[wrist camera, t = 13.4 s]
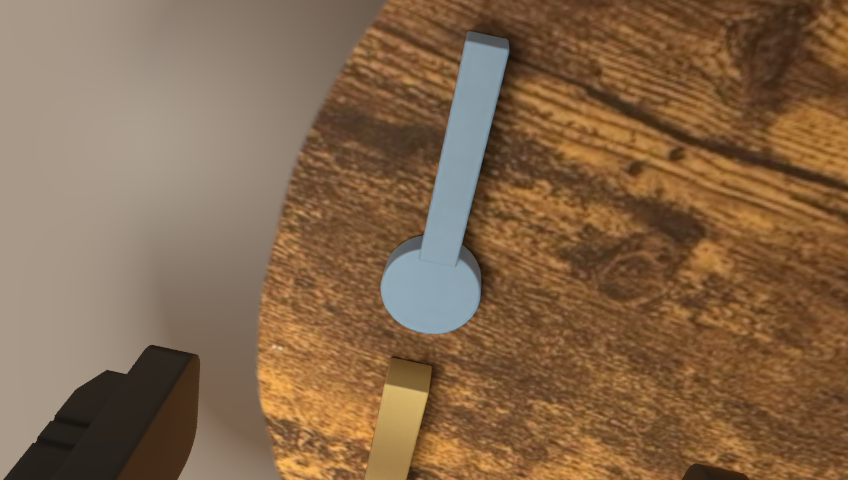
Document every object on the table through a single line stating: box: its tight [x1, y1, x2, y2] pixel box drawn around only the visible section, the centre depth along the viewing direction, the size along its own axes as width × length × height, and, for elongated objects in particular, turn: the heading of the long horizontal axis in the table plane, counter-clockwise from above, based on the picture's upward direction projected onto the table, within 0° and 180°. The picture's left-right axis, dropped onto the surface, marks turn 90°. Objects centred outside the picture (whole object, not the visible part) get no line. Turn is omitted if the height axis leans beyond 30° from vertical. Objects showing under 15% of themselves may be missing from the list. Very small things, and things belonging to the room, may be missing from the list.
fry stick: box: [364, 357, 432, 480], centre depth 30 cm, size 7×2×2 cm, turn 169°
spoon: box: [381, 31, 509, 334], centre depth 25 cm, size 11×4×2 cm, turn 169°
